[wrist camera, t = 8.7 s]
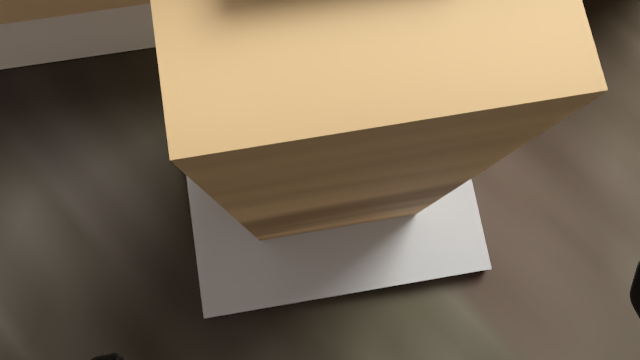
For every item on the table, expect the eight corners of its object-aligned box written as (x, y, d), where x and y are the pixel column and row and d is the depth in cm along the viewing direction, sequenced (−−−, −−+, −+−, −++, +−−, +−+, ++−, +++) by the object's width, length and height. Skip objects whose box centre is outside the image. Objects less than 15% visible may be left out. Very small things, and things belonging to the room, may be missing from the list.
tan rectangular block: (416, 214, 17) (640, 69, 5) (260, 240, 17) (153, 146, 5) (385, 64, 18) (520, -326, 6) (236, 86, 18) (105, -276, 6)
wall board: (736, 226, 18) (952, 196, 12) (-73, 366, 16) (-291, 412, 10) (645, -63, 20) (790, -212, 14) (-82, 40, 18) (-268, -77, 12)
